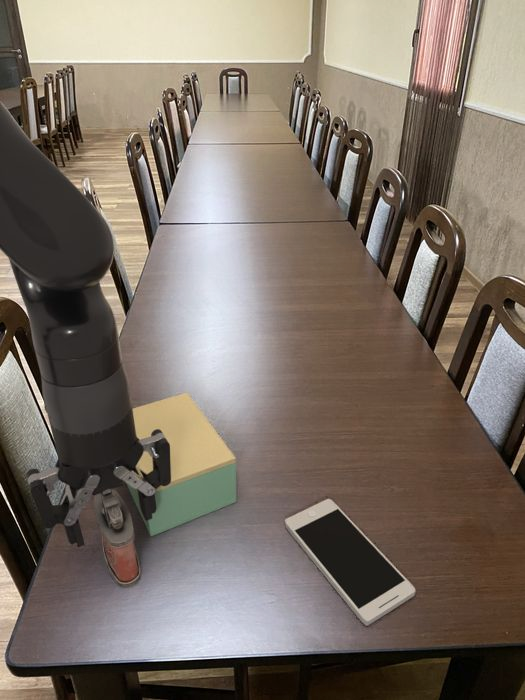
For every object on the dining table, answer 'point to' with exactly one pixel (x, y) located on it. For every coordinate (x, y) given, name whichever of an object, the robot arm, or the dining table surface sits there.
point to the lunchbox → (190, 499)
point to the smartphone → (350, 561)
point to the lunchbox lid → (182, 438)
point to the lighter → (117, 538)
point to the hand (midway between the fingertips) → (114, 526)
